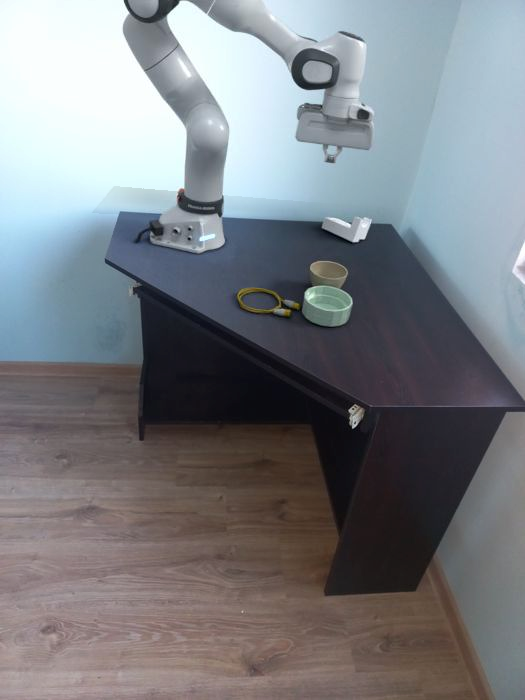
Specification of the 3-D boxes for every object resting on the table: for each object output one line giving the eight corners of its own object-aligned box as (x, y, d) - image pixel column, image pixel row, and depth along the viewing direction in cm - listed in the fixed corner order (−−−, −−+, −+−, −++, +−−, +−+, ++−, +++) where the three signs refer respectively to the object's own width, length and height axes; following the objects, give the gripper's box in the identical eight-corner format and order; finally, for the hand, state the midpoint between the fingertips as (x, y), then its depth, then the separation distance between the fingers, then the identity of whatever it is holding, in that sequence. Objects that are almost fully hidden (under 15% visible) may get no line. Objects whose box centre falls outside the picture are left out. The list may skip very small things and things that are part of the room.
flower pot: (341, 286, 149) (346, 263, 145) (343, 304, 141) (349, 280, 137) (305, 281, 149) (309, 258, 145) (306, 300, 141) (310, 276, 137)
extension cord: (268, 327, 129) (269, 320, 128) (227, 298, 138) (228, 291, 136) (303, 312, 136) (304, 305, 135) (262, 285, 145) (263, 279, 144)
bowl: (301, 324, 131) (304, 307, 128) (301, 299, 141) (304, 283, 138) (349, 330, 131) (354, 313, 128) (346, 305, 141) (350, 288, 138)
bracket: (363, 242, 177) (372, 220, 174) (352, 242, 172) (361, 219, 168) (332, 228, 184) (340, 206, 180) (321, 227, 178) (328, 205, 175)
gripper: (298, 104, 132) (290, 160, 140) (380, 114, 132) (368, 170, 141) (298, 99, 137) (291, 153, 146) (377, 109, 138) (365, 163, 146)
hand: (329, 162), depth 143 cm, fingers closed
